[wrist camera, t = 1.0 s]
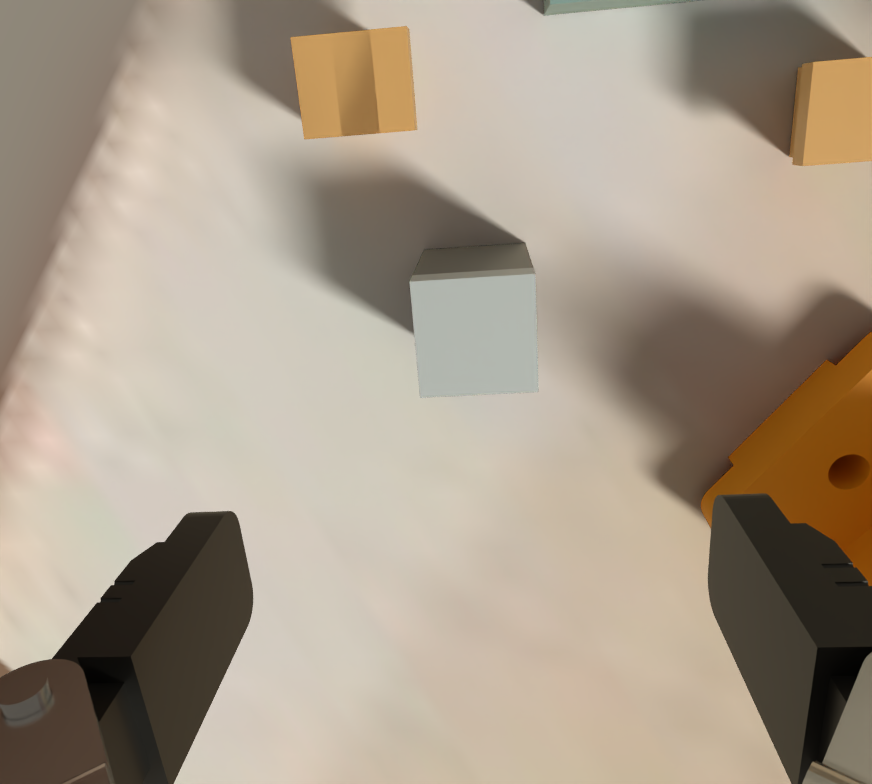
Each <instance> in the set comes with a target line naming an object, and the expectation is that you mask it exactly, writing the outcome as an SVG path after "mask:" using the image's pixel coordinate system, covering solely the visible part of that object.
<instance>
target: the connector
mask: <svg viewBox="0 0 872 784" xmlns="http://www.w3.org/2000/svg"><path fill="white" fill-rule="evenodd" d="M409 283H410V294H411V304H412V315H413V326H414V337H415V348H416V359H417V370H418V381H419V392H420V398H425V397H446V396H467V395H488V394H508V393H529V392H538V354H537V317H536V279H535V271H534V268H533V265H532V262H531V259H530V256H529V253H528V250H527V247H526V244H525V243H514V244H499V245H484V246H469V247H454V248H440V249H425V250H424V252H423V254H422V256H421V258H420V260H419V262H418V264H417V267H416V269H415V271H414V273H413V275H412V277H411V279H410V282H409Z"/></svg>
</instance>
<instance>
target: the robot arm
mask: <svg viewBox="0 0 872 784" xmlns="http://www.w3.org/2000/svg"><path fill="white" fill-rule="evenodd" d="M708 589H709V597H710V602H711V606H712V610H713V613H714V616H715V618H716V620H717V622H718V625H719V627H720V629H721V631H722V633H723V636H724V638H725V640H726V642H727V644H728V646H729V649H730V651H731V653H732V655H733V657H734V659H735V662H736V664H737V666H738V668H739V670H740V673H741V675H742V677H743V679H744V681H745V683H746V686H747V688H748V690H749V692H750V694H751V696H752V699H753V701H754V703H755V705H756V707H757V710H758V712H759V714H760V716H761V718H762V720H763V723H764V725H765V727H766V729H767V731H768V733H769V736H770V738H771V740H772V742H773V744H774V747H775V749H776V751H777V753H778V755H779V757H780V760H781V762H782V764H783V766H784V768H785V770H786V773H787V775H788V777H789V779H790V781H791V784H872V586H869V585H868V581H867V579H866V578H865V577H864V576H863V575H862V573H861V572H860V571H859V570H858V569H857V567H853V563H852V561H851V560H850V559H849V558H848V556H847V555H846V554H845V553H844V552H843V550H842V549H841V548H840V547H839V546H838V544H837V543H836V542H835V541H834V540H832V539H830V538H829V537H827V536H826V535H824V534H822V533H821V532H819V531H818V530H816V529H814V528H813V527H811V526H810V525H808V524H806V523H792V524H791V523H790V522H789V521H788V519H787V518H786V517H785V515H784V514H783V513H782V511H781V510H780V509H779V507H778V506H777V505H776V503H775V502H774V501H773V500H772V498H771V497H770V496H769V495H768V494H766V493H759V494H731V495H717V496H716V498H715V500H714V504H713V511H712V525H711V539H710V554H709V568H708ZM252 608H253V588H252V582H251V578H250V573H249V568H248V563H247V558H246V553H245V549H244V544H243V539H242V534H241V529H240V525H239V521H238V518H237V516H236V515H235V513H233V512H232V511H221V512H193V513H188V514H186V515H185V516H184V517H183V519H182V520H181V521H180V523H179V524H178V525H177V527H176V528H175V529H174V530H173V532H172V533H171V534H170V536H169V537H168V538H167V540H166V541H165V542H157V543H155V544H154V545H153V546H151V547H150V548H148V549H147V550H145V551H144V552H143V553H141V554H140V555H138V556H137V557H135V558H134V559H133V560H131V561H130V563H129V564H128V565H127V566H126V567H125V569H124V570H123V571H122V572H121V574H120V575H119V576H118V577H117V579H116V580H115V584H114V585H111V586H110V587H109V589H108V590H107V591H106V592H105V594H104V595H103V596H102V597H101V602H100V603H96V605H95V606H94V607H93V608H92V610H91V611H90V612H89V613H88V615H87V616H86V617H85V618H84V620H83V621H82V622H81V623H80V625H79V626H78V627H77V628H76V630H75V631H74V632H73V633H72V635H71V636H70V637H69V638H68V639H67V641H66V642H65V643H64V644H63V646H62V647H61V648H60V649H59V651H58V652H57V653H56V654H55V656H54V657H53V658H52V659H49V660H43V661H39V662H35V663H31V664H28V665H25V666H23V667H20V668H18V669H16V670H13V671H11V672H9V673H8V674H6V675H4V676H2V677H1V678H0V784H174V781H175V779H176V777H177V775H178V773H179V771H180V769H181V767H182V764H183V762H184V760H185V758H186V756H187V754H188V752H189V750H190V748H191V745H192V743H193V741H194V739H195V737H196V735H197V733H198V731H199V728H200V726H201V724H202V722H203V720H204V718H205V716H206V714H207V711H208V709H209V707H210V705H211V703H212V701H213V699H214V697H215V694H216V692H217V690H218V688H219V686H220V684H221V682H222V680H223V677H224V675H225V673H226V671H227V669H228V667H229V665H230V663H231V660H232V658H233V656H234V654H235V652H236V650H237V648H238V646H239V644H240V641H241V639H242V637H243V635H244V633H245V631H246V629H247V627H248V624H249V622H250V618H251V614H252Z"/></svg>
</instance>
